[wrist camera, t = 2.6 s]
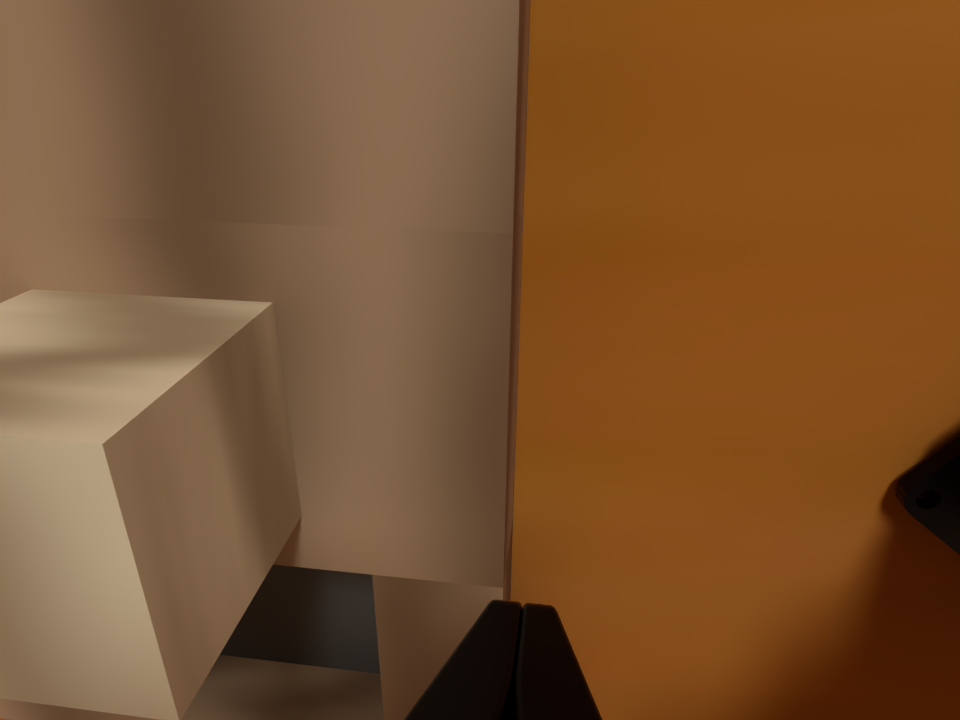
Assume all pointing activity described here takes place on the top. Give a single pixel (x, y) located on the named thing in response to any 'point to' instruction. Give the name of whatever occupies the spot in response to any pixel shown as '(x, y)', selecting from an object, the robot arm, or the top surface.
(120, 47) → the board
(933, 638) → the top surface
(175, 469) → the maple block
